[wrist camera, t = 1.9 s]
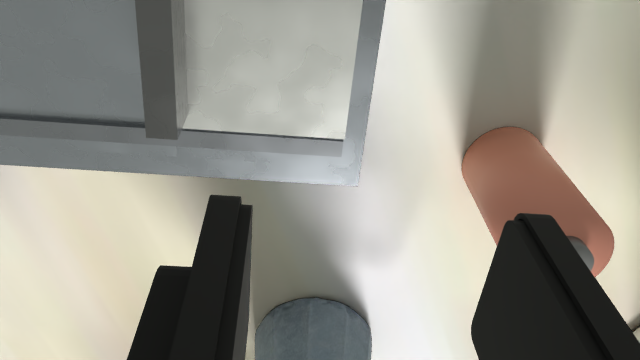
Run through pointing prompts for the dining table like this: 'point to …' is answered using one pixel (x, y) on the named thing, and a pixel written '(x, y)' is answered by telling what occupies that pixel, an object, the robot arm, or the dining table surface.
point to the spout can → (532, 191)
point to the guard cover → (247, 65)
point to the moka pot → (313, 332)
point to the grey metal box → (127, 103)
